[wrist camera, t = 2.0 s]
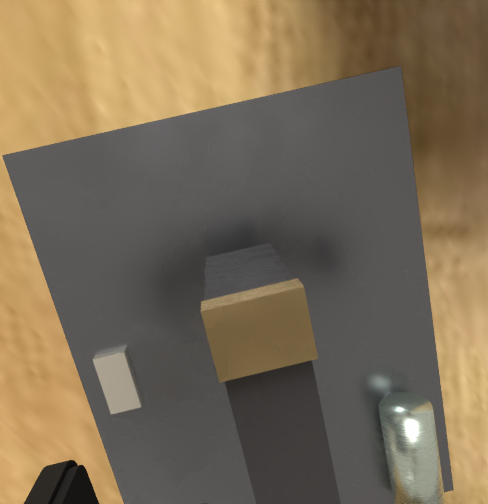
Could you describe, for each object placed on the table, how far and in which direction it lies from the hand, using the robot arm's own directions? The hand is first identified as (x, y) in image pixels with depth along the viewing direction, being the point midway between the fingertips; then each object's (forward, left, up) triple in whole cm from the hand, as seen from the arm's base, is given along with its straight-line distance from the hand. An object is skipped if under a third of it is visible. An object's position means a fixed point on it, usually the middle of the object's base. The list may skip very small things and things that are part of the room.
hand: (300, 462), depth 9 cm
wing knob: (-1, 0, -7) cm, 7 cm away
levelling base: (-1, 0, -10) cm, 10 cm away
